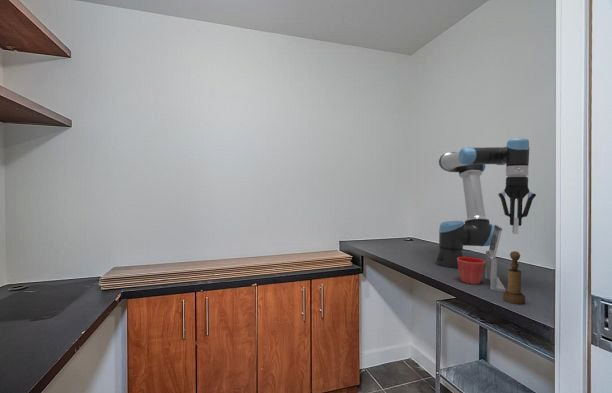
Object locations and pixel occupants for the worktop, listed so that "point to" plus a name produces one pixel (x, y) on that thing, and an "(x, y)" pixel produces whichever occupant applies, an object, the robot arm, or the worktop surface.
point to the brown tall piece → (514, 282)
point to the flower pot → (470, 269)
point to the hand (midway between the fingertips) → (515, 233)
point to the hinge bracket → (493, 274)
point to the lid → (494, 241)
